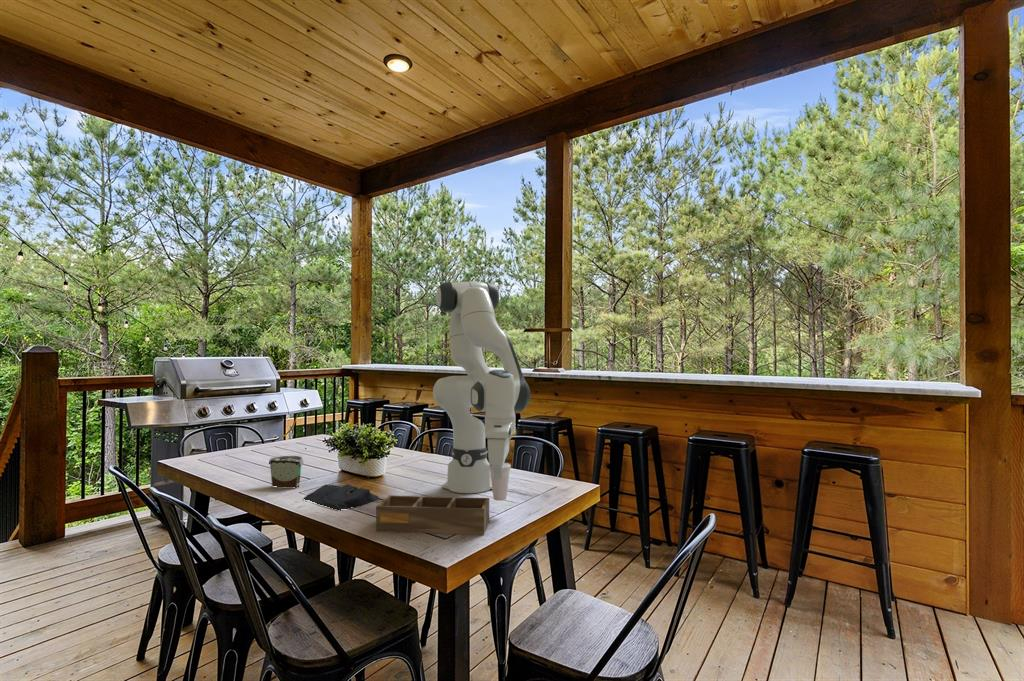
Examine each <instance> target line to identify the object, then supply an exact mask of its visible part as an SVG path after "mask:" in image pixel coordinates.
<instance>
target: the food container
mask: <svg viewBox="0 0 1024 681" xmlns="http://www.w3.org/2000/svg"><path fill="white" fill-rule="evenodd" d="M268 465H269V467H270V477H271V487H272V486H277V487H295V488H297V487H298V488H299V487H300V483H301V482H300V481H301V474H302V473H301V472H302V466H303V465H304V460H303V457H302V456H299V455H283V456H274V457H270V458H269V460H268ZM298 488H297V489H298Z"/></svg>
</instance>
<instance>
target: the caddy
mask: <svg viewBox="0 0 1024 681" xmlns="http://www.w3.org/2000/svg"><path fill="white" fill-rule="evenodd" d="M489 523H490V498H489V497H462V496H461V497H459V496H425V495H424V496H423V495H421V496H419V495H388V496H387V497H385V499H383V500H382V501H381V502H379V504H377V505H376V507H375V532H380V531H393V532H392V533H411V532H415V534H417V533H419V534H420V533H421V534H445V535H447V534H451V535H477V536H480V535H481V536H484V535H485V534H486V531H487V528H488V525H489Z"/></svg>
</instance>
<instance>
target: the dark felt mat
mask: <svg viewBox="0 0 1024 681" xmlns="http://www.w3.org/2000/svg"><path fill="white" fill-rule="evenodd" d="M303 499H305V500H310V501H312V502H315V503H317V504H320V505H324V506H327V507H330V508H333V509H332V510H334V509H337V510H340V511H342V510H341V509H348V508H351V507H354V508H358V507H357V506H360V507H362V505H363V506H366V505H368V503H369V504H371V503H373V502H376V501H377V500H379V495H376V494H373V493H371V491H370V489H369V488H368V489H366V488H363V487H360V488H358V487H357V486H354V485H352V484H345V485H342V486H339V485H336V484H324V485H322V486H320V487H319V488H317V489H315V490H314V491H313V492H311V493H309V494H307V495H306V496H304V497H303V498H302V500H303ZM376 499H377V500H376ZM370 502H371V503H370ZM365 504H366V505H365ZM320 505H319V506H320ZM327 507H326V508H327ZM330 508H329V509H330ZM351 509H352V508H351ZM337 510H336V511H337ZM348 510H349V509H348Z"/></svg>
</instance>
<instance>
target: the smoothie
mask: <svg viewBox="0 0 1024 681" xmlns="http://www.w3.org/2000/svg"><path fill="white" fill-rule="evenodd" d="M489 469H490V474H491V482H492V498H493V500H494V501H497V502H498V501H499V502H500V501H502V502H503V501H506V500H507V496H508V495H507V494H508V488H509V482H510V481H509V480H510V472H511V469H512V466H511V463H507V462H505V463H504V464H503V466H502V477H501V479H495V471H494V467H491V466H490V465H489Z"/></svg>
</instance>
